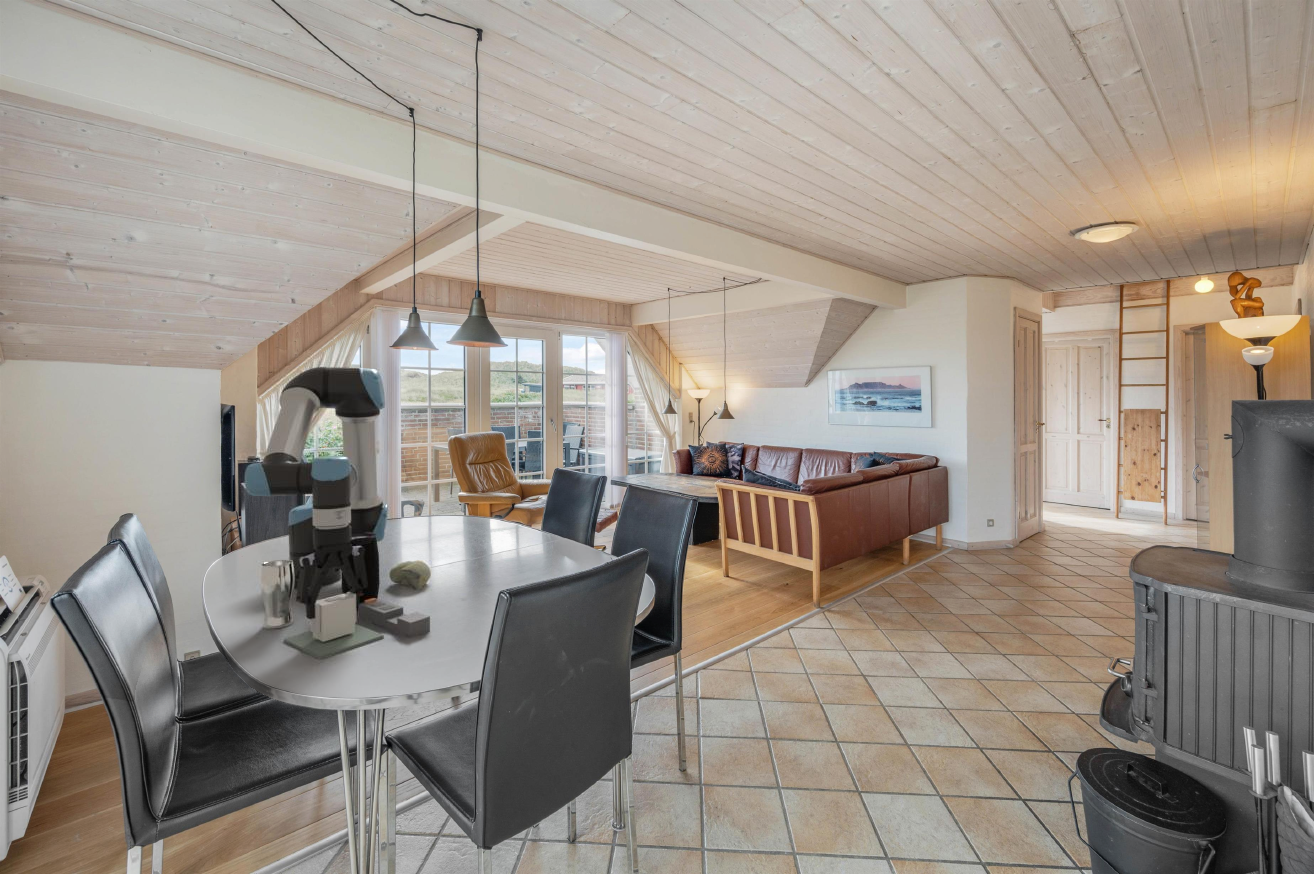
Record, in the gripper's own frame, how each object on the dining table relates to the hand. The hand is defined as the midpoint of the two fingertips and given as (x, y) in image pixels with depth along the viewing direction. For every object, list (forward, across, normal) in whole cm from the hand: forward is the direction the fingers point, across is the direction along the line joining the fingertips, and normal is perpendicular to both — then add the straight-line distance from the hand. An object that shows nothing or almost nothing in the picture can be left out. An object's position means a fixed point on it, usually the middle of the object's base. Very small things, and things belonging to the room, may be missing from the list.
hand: (334, 626), depth 131 cm
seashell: (+3, +34, +22) cm, 41 cm away
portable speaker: (+3, +15, +16) cm, 22 cm away
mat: (+3, 0, 0) cm, 3 cm away
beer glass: (+3, -3, +20) cm, 20 cm away
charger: (+2, 0, 0) cm, 2 cm away
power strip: (+3, +13, -2) cm, 14 cm away
